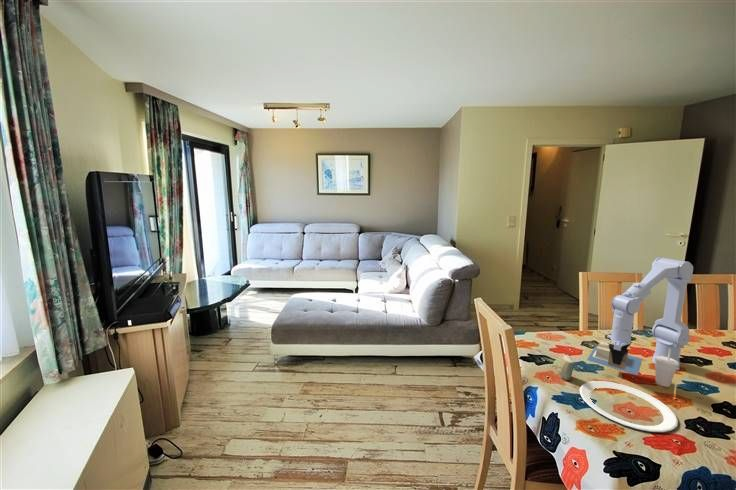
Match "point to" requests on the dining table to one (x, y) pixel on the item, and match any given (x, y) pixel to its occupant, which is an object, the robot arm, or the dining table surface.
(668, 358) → the smoothie
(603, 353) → the birch block
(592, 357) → the board
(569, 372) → the grey small block
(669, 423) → the white flat ring
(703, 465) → the dining table surface
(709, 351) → the dining table surface
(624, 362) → the walnut block
